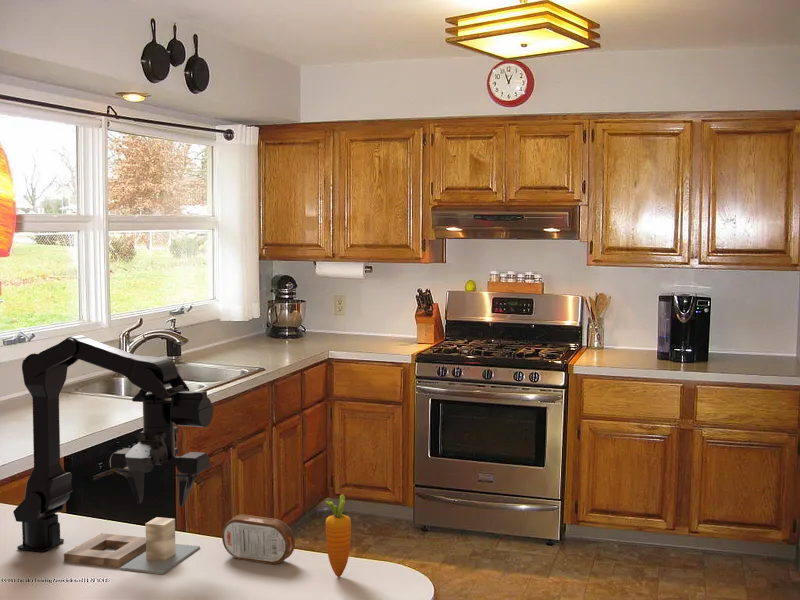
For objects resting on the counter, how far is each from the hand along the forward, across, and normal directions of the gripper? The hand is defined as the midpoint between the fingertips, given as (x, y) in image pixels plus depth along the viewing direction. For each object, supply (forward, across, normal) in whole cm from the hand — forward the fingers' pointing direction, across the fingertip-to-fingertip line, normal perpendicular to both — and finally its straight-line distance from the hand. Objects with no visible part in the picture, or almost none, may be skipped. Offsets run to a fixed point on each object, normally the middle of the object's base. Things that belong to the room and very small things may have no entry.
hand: (160, 504), depth 164 cm
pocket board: (+11, -12, 0) cm, 16 cm away
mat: (+11, 0, 0) cm, 11 cm away
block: (+10, 0, 0) cm, 10 cm away
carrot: (+11, +36, 0) cm, 38 cm away
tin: (+11, +18, +4) cm, 22 cm away
